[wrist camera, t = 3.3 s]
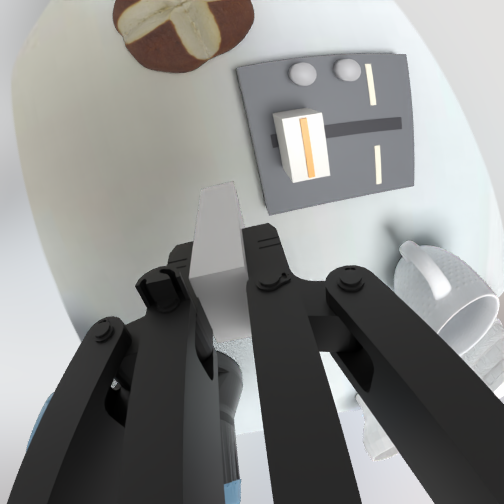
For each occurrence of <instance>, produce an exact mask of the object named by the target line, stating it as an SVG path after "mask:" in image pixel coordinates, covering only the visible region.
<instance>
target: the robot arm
mask: <svg viewBox="0 0 504 504" xmlns="http://www.w3.org/2000/svg"><path fill="white" fill-rule="evenodd" d="M135 287H136V289H137V291H138V292H139V294H140V296H141V298H142V300H143V302H144V303H145V305H146V307H147V311H146V315H145V316H144V317H142V318H140V319H138V320H136V321H133V322H131V323H129V324H126V325H124V323H123V322H122V321H121V320H120V318H118V317H114V316H113V317H106V318H104V319H101V320H99V321H98V322H97V323H95V324H94V325H93V326H92V327H91V328H90V330H89V331H88V333H87V334H86V336H85V338H84V339H83V341H82V343H81V344H80V346H79V348H78V350H77V352H76V353H75V355H74V357H73V359H72V360H71V362H70V364H69V366H68V367H67V369H66V371H65V373H64V375H63V377H62V379H61V380H60V383H59V384H58V386H57V388H56V390H55V392H54V393H52V394H51V395H50V396H49V397H48V399H47V401H46V402H45V404H44V406H43V408H42V410H41V412H40V414H39V416H38V419H37V421H36V423H35V425H34V428H33V430H32V433H31V436H30V439H29V442H28V445H27V449H26V454H25V456H24V459H23V461H22V464H21V466H20V469H19V471H18V474H17V477H16V480H15V482H14V485H13V488H12V490H11V493H10V497H9V499H8V502H7V504H240V501H241V500H240V499H241V496H240V495H241V494H240V493H241V488H240V483H241V479H240V476H239V466H238V457H237V447H236V437H235V426H234V416H235V413H236V409H237V406H238V402H239V399H240V396H241V392H242V387H243V382H242V372H241V369H240V367H239V366H238V364H237V363H236V362H235V361H234V360H232V359H231V358H229V357H228V356H226V355H224V354H222V353H219V352H216V350H215V348H214V346H213V335H214V337H215V340H216V342H217V343H221V342H227V341H232V340H237V339H242V338H247V337H252V342H253V350H254V358H255V366H256V374H257V382H258V390H259V398H260V405H261V413H262V421H263V428H264V435H265V443H266V451H267V458H268V465H269V472H270V480H271V487H272V494H273V501H274V504H362V502H361V498H360V494H359V490H358V487H357V483H356V479H355V475H354V471H353V467H352V464H351V460H350V456H349V452H348V449H347V445H346V442H345V438H344V434H343V431H342V427H341V424H340V420H339V417H338V413H337V410H336V406H335V403H334V400H333V396H332V393H331V389H330V386H329V383H328V379H327V376H326V373H325V369H324V366H323V363H322V360H321V356H320V353H319V352H330V354H331V356H332V357H333V358H334V360H335V361H336V363H337V364H338V366H339V367H340V368H341V370H342V371H343V373H344V374H345V376H346V377H347V378H348V380H349V381H350V383H351V384H352V386H353V387H354V388H355V390H356V391H357V393H358V394H359V395H360V397H361V398H362V400H363V401H364V403H365V404H366V405H367V407H368V408H369V410H370V411H371V413H372V414H373V415H374V417H375V418H376V420H377V421H378V423H379V424H380V426H381V427H382V428H383V430H384V431H385V433H386V434H387V436H388V437H389V438H390V440H391V441H392V443H393V444H394V446H395V447H396V448H397V450H398V451H399V453H400V454H401V456H402V457H403V458H404V460H405V461H406V463H407V464H408V466H409V467H410V468H411V470H412V472H413V473H414V474H415V476H416V477H417V479H418V480H419V482H420V483H421V484H422V486H423V487H424V489H425V490H426V492H427V493H428V495H429V496H430V498H431V499H432V500H433V502H434V503H435V504H504V404H503V403H502V402H501V401H500V400H499V398H498V397H497V396H496V395H495V394H494V393H493V392H492V390H491V389H490V388H489V387H488V386H487V385H486V384H485V383H484V382H483V381H482V379H481V378H480V377H479V376H478V375H477V374H476V373H475V372H474V371H473V370H472V369H471V368H470V367H469V366H468V365H467V363H466V362H465V361H464V360H463V359H462V358H461V357H460V356H459V355H458V354H457V353H456V352H455V351H454V350H453V349H452V348H451V347H450V346H449V345H448V344H447V343H446V342H445V341H444V340H443V339H442V338H441V337H440V336H439V335H438V334H437V333H436V332H435V331H434V330H433V329H432V328H431V327H430V326H429V325H428V324H427V323H426V322H425V321H424V320H423V319H422V318H421V317H420V316H419V315H418V314H417V313H415V312H414V311H413V310H412V309H411V308H410V307H409V306H408V305H407V304H406V303H405V302H404V301H403V300H402V299H401V298H400V297H398V296H397V295H396V294H395V293H394V292H393V291H392V290H391V289H390V288H389V287H388V286H386V285H385V284H384V283H383V282H382V281H381V280H380V279H379V278H378V277H377V276H375V275H374V274H373V273H372V272H371V271H369V270H367V269H366V268H364V267H360V266H356V265H352V266H343V267H339V268H337V269H335V270H333V271H332V272H330V273H329V275H328V276H327V278H326V281H307V280H303V279H300V278H298V277H296V276H295V275H294V274H293V273H292V272H291V270H290V269H289V266H288V263H287V260H286V257H285V254H284V251H283V248H282V245H281V242H280V239H279V236H278V233H277V230H276V228H275V227H273V226H272V225H270V224H269V223H266V224H261V225H257V226H252V227H248V228H245V224H244V220H243V216H242V212H241V208H240V204H239V200H238V196H237V192H236V188H235V184H234V181H231V182H227V183H223V184H219V185H215V186H210V187H206V188H203V189H201V195H200V201H199V207H198V214H197V221H196V228H195V235H194V241H192V242H188V243H184V244H180V245H176V247H175V248H174V249H173V250H172V252H171V253H170V255H169V259H168V264H167V266H162V267H158V268H155V269H152V270H151V271H149V272H147V273H146V274H144V275H143V276H142V277H141V278H140V279H139V280H138V282H137V284H136V285H135ZM114 379H115V380H116V381H117V382H118V383H117V385H116V386H115V388H112V387H111V384H112V382H113V380H114Z"/></svg>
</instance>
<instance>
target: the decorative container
mask: <svg viewBox="0 0 504 504" xmlns="http://www.w3.org/2000/svg"><path fill="white" fill-rule="evenodd" d="M460 357H461V358H462V359H463V360H464V361H465V362H466V363H467V365H468V366H469V367H470V368H471V369H472V370H473V371H474V372H475V373H476V374H477V375H478V376H479V377H480V378H481V379H482V381H483V382H484V383H485V384H486V385H487V386H488V387H489V388H490V389H491V390H492V392H493V393H494V394H495V395H496V396H497V397H498V398H499V399H500V398H501V397H503V396H504V328H503V326H502V323H501V321H500V319H498V318H497V317H496V318H495V320H494V322H493V324H492V326H491V327H490V329H489V330H488V331H487V333H486V334H485V335H484V336H483V337H482V338H481V340H480V341H479V342H478V343H476V344H475V345H474V346H473V347H472V348H471V349H470V350H469V351H467V352H466V353H464V354H463V355H461V356H460Z"/></svg>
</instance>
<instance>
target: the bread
mask: <svg viewBox="0 0 504 504" xmlns="http://www.w3.org/2000/svg"><path fill="white" fill-rule="evenodd" d="M253 21H254V9H253V5H252V3H251V0H116V1H115V5H114V9H113V22H114V25H115V28H116V29H117V31H118V32H119V33H120V34H121V35H122V36H123V39H124V42H125V45H126V47H127V49H128V50H129V52H130V53H131V54H132V55H133V56H134V58H135V59H136V60H137V61H138V62H139V63H140V64H141V65H143V66H144V67H146V68H148V69H151V70H156V71H163V72H171V73H184V72H188V71H192V70H194V69H197V68H198V67H199V66H201V65H202V64H204V63H205V62H206V61H208V60H209V59H211V58H213V57H215V56H218V55H220V54H223V53H225V52H227V51H229V50H231V49H232V48H234V47H235V46H236V45H237V44H238V43H239V42H241V41H242V40H243V38H244V37H245V36H246V34H247V33H248V31H249V30H250V28H251V26H252V24H253Z"/></svg>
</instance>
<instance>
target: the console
mask: <svg viewBox="0 0 504 504" xmlns="http://www.w3.org/2000/svg"><path fill="white" fill-rule="evenodd" d="M236 72H237V76H238V80H239V84H240V89H241V93H242V98H243V102H244V106H245V111H246V115H247V120H248V124H249V129H250V133H251V138H252V142H253V147H254V152H255V156H256V161H257V166H258V170H259V175H260V180H261V185H262V189H263V194H264V199H265V204H266V208H267V211H268V214H269V216H270V215H274V214H279V213H283V212H288V211H292V210H297V209H302V208H306V207H311V206H316V205H320V204H325V203H330V202H335V201H340V200H344V199H349V198H354V197H359V196H364V195H369V194H374V193H380V192H385V191H390V190H395V189H400V188H406V187H411V186H414V129H413V112H412V99H411V89H410V80H409V71H408V64H407V57H406V54H339V55H323V56H312V57H302V58H293V59H285V60H278V61H271V62H265V63H259V64H253V65H248V66H243V67H238V68H236ZM301 108H310V109H313V110H315V111H318V112H321V113H322V116H323V123H324V130H325V137H326V144H327V152H328V161H329V169H330V176H326V177H320V178H315V179H310V180H305V181H300V182H295V183H293V182H292V181H291V179H290V178H289V176H288V175H287V173H286V172H285V170H284V169H283V166H282V160H281V155H280V149H279V144H278V139H277V134H276V128H275V123H274V118H273V113H277V112H283V111H289V110H295V109H301Z"/></svg>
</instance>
